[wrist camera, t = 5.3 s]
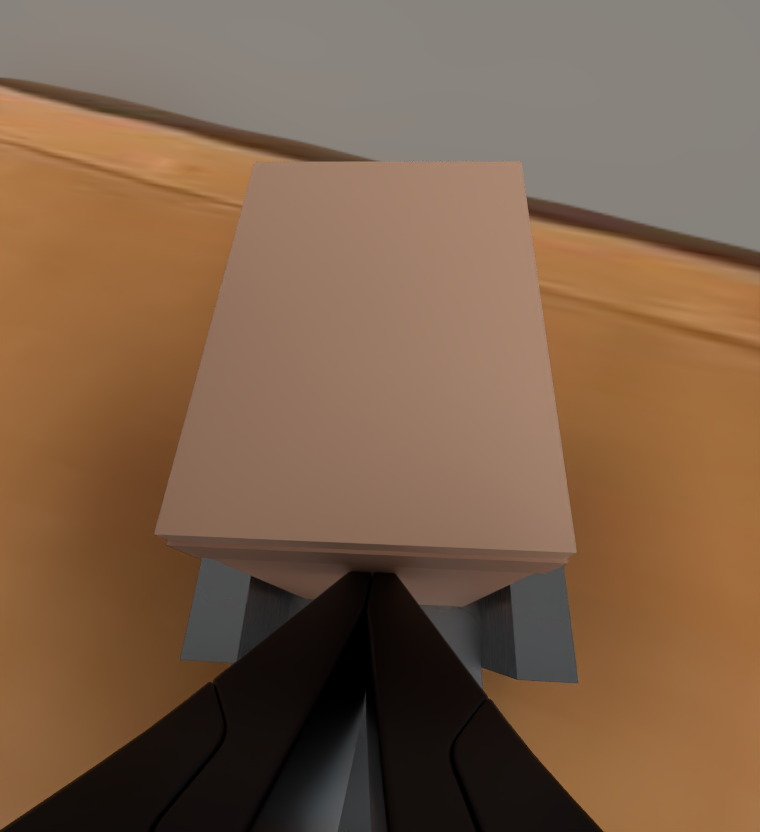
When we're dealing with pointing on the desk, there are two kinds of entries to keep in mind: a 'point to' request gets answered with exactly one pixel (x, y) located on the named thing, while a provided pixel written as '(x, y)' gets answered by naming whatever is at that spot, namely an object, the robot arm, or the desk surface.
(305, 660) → the robot arm
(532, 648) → the chute
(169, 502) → the block
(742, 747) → the desk surface
